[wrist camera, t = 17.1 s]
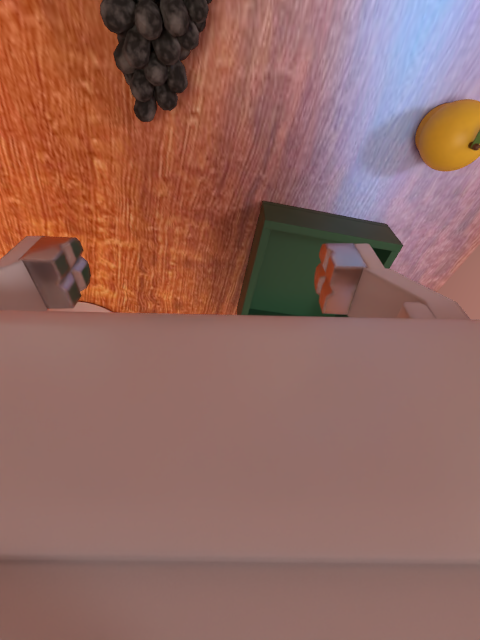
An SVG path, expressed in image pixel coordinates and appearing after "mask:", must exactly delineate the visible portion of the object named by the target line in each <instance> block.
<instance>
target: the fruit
mask: <svg viewBox="0 0 480 640" xmlns="http://www.w3.org/2000/svg"><path fill="white" fill-rule="evenodd" d="M211 1H212V0H103V1H102V3H101V4H100V14H101V16H102V19H103V22H104V24H105V26H106V27H107V28H108V29H109V30H110V31H111V32H114V33H117V34H118V37H117V38H118V42H119V44H118V46H117V48H116V50H115V51H114V53H113V54H114V58H115V62H116V65H117V67H118V68H119V69H120V70H121V71H122V72H123V74H124V76H125V79H126V82H127V83H128V84H129V85H130V89H131V92H132V95H133V96H134V97H135V99H136V101H135V105H134V112H135V114H136V117H137V118H138V119H140V120H141V121H143V122H149V121H151V120H153V118H154V116H155V113H156V110H157V103H158V105H159V106H160V107H161V108H162V109H163V110H168V111H171V110H172V109H174V108H175V107H176V105H177V100H178V97H177V94H176V93H182V92H183V91H184V90H185V89H186V88H187V85H188V81H187V76H186V71H185V67H184V65H183V64H182V63H181V60H184V59H185V58H186V57H187V56H188V55H189V53H190V50H192V49H194V48H195V47H196V46H197V45H198V40H199V33H200V32H201V31H203V29H204V28H205V24H206V18H207V15H208V10H209V8H208V5H207V4H209V3H211ZM156 101H157V103H156Z"/></svg>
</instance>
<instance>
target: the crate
mask: <svg viewBox="0 0 480 640" xmlns="http://www.w3.org/2000/svg"><path fill="white" fill-rule="evenodd" d="M325 243H354V244H365V243H367V244H369V245H370V246H371V247H372V249H373V251H374V252H375V254H376V255H377V257H378V258H379V260H380V261H381V263H382V264H383V266H384V268H388V269H389V268H390V266H391V265H392V263H393V261H394V260H395V258H396V257H397V255H398V253H399V252H400V250H401V248H402V247H403V245H402V243H401V242H400V241H399V239H398V238H397V237H396V236H395V234H394V233H393V232H392V230H391V229H390V228H389V227H388V225H387V224H382V223H377V222H372V221H367V220H361V219H356V218H351V217H346V216H340V215H335V214H330V213H325V212H320V211H314V210H309V209H304V208H299V207H293V206H288V205H283V204H278V203H272V202H267V201H262V205H261V210H260V214H259V218H258V222H257V227H256V231H255V235H254V239H253V243H252V248H251V252H250V256H249V260H248V265H247V269H246V273H245V277H244V281H243V286H242V290H241V294H240V298H239V303H238V307H237V315H264V316H315V317H348V316H347V315H344V314H322V311H321V308H320V304H319V297H320V295H318V294H317V293H316V291H315V286H314V277H315V271H316V267H317V266H318V265H319V264H320V263H321V261H320V258H319V252H320V248H321V246H322V244H325Z"/></svg>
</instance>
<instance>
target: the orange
mask: <svg viewBox="0 0 480 640" xmlns="http://www.w3.org/2000/svg"><path fill="white" fill-rule="evenodd" d="M415 143H416V147H417V149H418V150H419V152H420V156H421V158H422V160H423V161H424V163H425V164H426V165H428V166H429V167H431V168H432V169H435V170H438V171H453V170H457V169H460V168H463V167H465V166H467V165H469V164H470V163H472V162H473V161H474V160H476V159H477V158H478V157H479V156H480V102H479V101H477V100H472V99H464V100H458V101H454V102H452V103H445V104H441V105H439V106H437V107H435V108H434V109H432V110H431V111H430V112H429V113H428V114H427V115H426V116H425V117H424V118H423V119H422V121H421V123H420V124H419V126H418V129H417V131H416V136H415Z"/></svg>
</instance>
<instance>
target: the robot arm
mask: <svg viewBox="0 0 480 640" xmlns="http://www.w3.org/2000/svg"><path fill="white" fill-rule="evenodd" d="M82 252H83V248H82V246H81V243H80V241H79V240H78V239H77V238H72V237H48V236H46V237H45V236H26V237H25V238H24V239H23V240H22V241H21V242H20V243H18V244H17V245H16V246H15V247H14V248H13V249H12V250H10V251H9V252H8V253H7V254H6V255H5V256H4V257H3V258H1V259H0V640H480V320H471V319H470V318H469V317H468V316H467V314H466V313H465V312H464V311H463V310H462V308H461V307H460V306H459V305H458V303H456V302H455V301H453V300H451V299H449V298H447V297H445V296H443V295H441V294H439V293H437V292H435V291H433V290H431V289H429V288H427V287H425V286H423V285H421V284H419V283H417V282H415V281H413V280H411V279H409V278H407V277H405V276H403V275H401V274H400V273H398V272H396V271H394V270H392V269H388V268H384V266H383V264H382V263H381V261H380V260H379V258H378V257H377V255H376V254H375V252H374V251H373V249H372V247H371V246H370V245H369V244H367V243H365V244H354V243H325V244H322V246H321V248H320V252H319V258H320V261H321V263H320V264H319V265H318V266H317V267H316V271H315V277H314V286H315V291H316V293H317V294H318V295H320V297H319V304H320V308H321V311H322V314H344V315H347V316H348V317H315V316H264V315H214V314H164V313H115V312H111V311H109V310H107V309H105V308H103V307H100V306H97V305H94V304H90V303H85V302H78V300H79V299H80V297H81V294H80V291H82V290H84V289H85V288H87V286H88V284H89V283H90V276H91V274H90V268H89V265H88V262H87V261H86V260H85V259H84V258H83V257H82V256H81V254H82Z"/></svg>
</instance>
